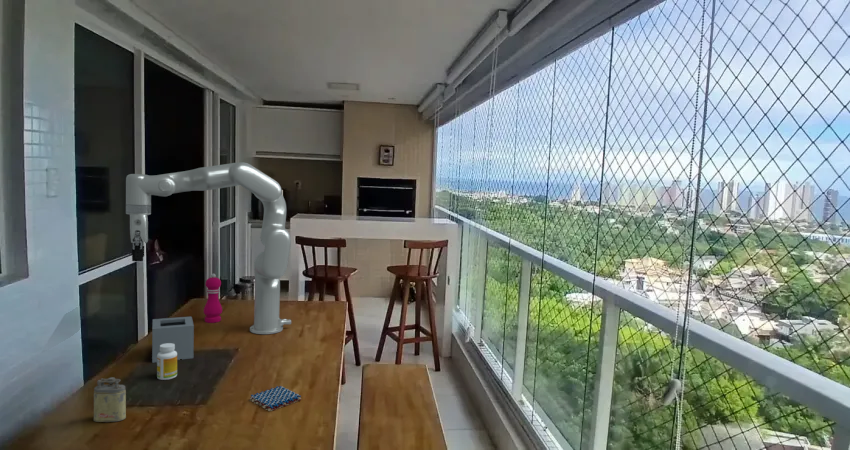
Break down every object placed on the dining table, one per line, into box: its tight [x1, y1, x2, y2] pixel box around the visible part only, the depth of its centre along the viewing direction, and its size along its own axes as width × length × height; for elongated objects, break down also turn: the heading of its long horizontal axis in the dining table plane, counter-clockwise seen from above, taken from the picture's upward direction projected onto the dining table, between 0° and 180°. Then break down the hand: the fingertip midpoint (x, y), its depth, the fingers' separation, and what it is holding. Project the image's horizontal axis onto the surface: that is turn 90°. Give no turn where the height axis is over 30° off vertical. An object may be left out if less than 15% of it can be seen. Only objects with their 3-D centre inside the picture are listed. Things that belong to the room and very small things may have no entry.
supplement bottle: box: [156, 343, 178, 381], centre depth 150 cm, size 5×5×10 cm
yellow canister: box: [93, 376, 127, 423], centre depth 123 cm, size 7×4×10 cm, turn 97°
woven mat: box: [249, 385, 302, 412], centre depth 138 cm, size 10×11×2 cm
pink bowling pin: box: [203, 273, 223, 324], centre depth 209 cm, size 7×7×20 cm
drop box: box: [151, 316, 195, 364], centre depth 168 cm, size 12×12×11 cm
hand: (138, 258), depth 175 cm, fingers open, 9 cm apart
